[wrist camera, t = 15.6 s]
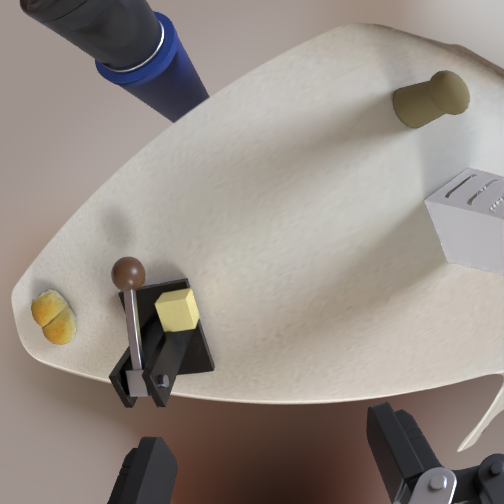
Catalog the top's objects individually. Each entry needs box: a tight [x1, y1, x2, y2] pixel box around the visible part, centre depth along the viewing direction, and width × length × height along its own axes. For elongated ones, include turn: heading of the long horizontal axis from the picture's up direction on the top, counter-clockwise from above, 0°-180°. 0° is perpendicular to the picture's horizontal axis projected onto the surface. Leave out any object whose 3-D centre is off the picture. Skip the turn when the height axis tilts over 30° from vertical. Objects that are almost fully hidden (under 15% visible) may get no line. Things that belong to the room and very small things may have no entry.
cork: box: [393, 70, 470, 128], centre depth 26 cm, size 6×6×11 cm
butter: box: [155, 288, 200, 332], centre depth 35 cm, size 4×4×4 cm
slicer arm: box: [111, 257, 151, 397], centre depth 29 cm, size 15×4×4 cm
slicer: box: [109, 278, 215, 408], centre depth 32 cm, size 14×10×14 cm
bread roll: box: [31, 289, 77, 345], centre depth 37 cm, size 8×9×4 cm
